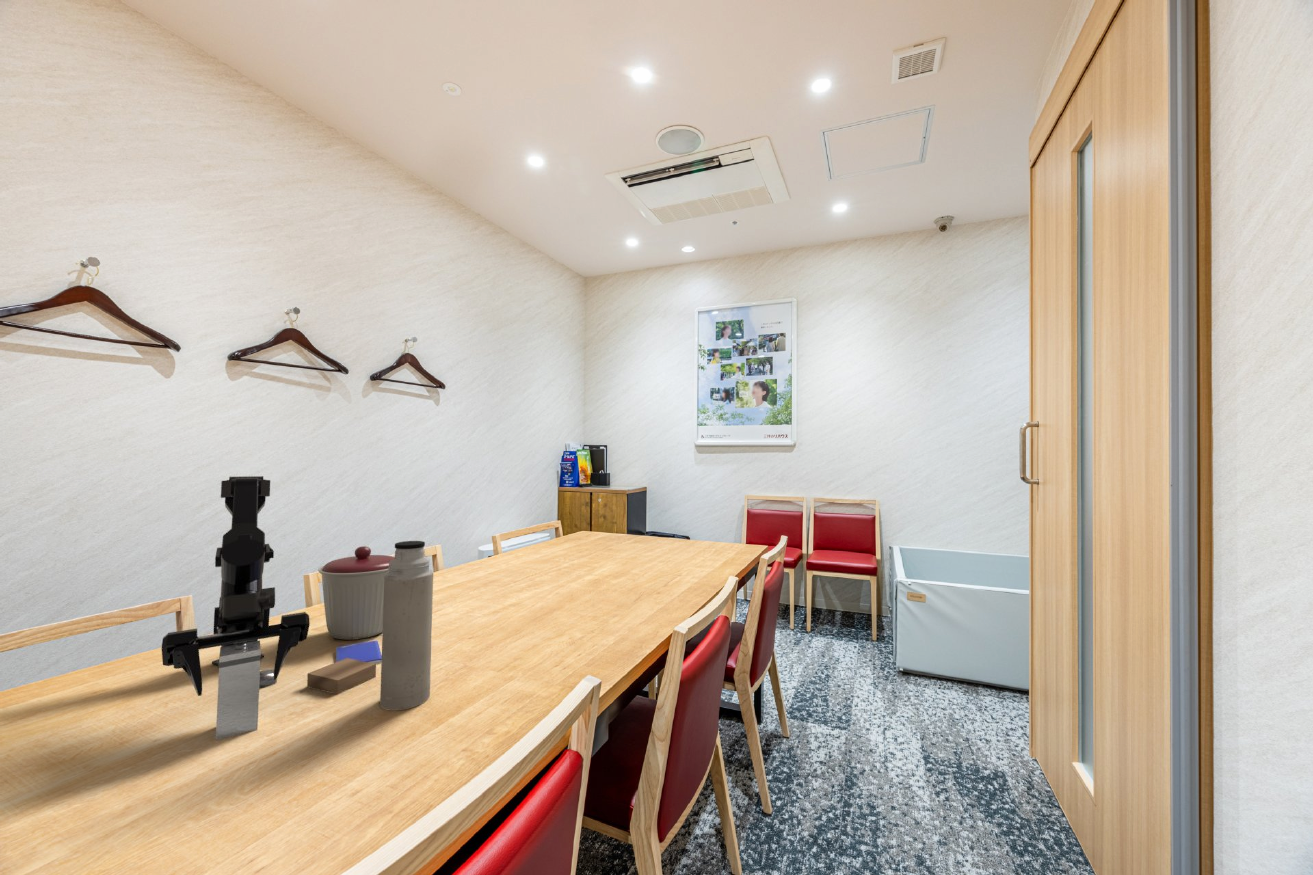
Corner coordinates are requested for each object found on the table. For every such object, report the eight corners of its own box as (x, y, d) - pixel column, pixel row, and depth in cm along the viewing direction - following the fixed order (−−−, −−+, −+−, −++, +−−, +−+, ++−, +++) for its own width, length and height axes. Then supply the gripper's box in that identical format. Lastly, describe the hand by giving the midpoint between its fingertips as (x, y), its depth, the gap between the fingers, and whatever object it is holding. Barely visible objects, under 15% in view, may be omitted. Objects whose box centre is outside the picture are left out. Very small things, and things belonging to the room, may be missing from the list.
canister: (379, 616, 137) (382, 538, 138) (415, 630, 126) (417, 545, 127) (302, 635, 122) (306, 547, 123) (335, 652, 112) (339, 556, 113)
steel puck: (244, 688, 95) (244, 677, 95) (263, 679, 98) (263, 668, 99) (264, 689, 94) (264, 678, 94) (282, 680, 98) (282, 669, 98)
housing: (216, 726, 81) (220, 643, 81) (256, 716, 84) (260, 636, 85) (215, 740, 77) (219, 652, 78) (257, 729, 80) (261, 645, 81)
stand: (307, 686, 95) (307, 673, 95) (346, 670, 103) (346, 657, 103) (337, 694, 92) (338, 680, 92) (375, 676, 100) (376, 663, 100)
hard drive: (336, 646, 113) (336, 666, 102) (377, 639, 117) (382, 657, 107) (335, 653, 113) (336, 674, 102) (377, 646, 117) (382, 665, 107)
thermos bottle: (405, 686, 96) (410, 537, 97) (439, 693, 93) (443, 539, 94) (369, 705, 88) (374, 543, 89) (405, 713, 85) (410, 546, 87)
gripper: (166, 581, 79) (153, 677, 70) (310, 566, 91) (315, 646, 82) (168, 620, 85) (157, 713, 76) (304, 600, 96) (308, 679, 87)
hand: (239, 686), depth 80 cm, fingers open, 9 cm apart
